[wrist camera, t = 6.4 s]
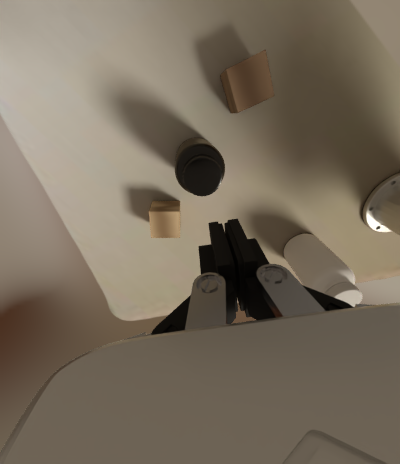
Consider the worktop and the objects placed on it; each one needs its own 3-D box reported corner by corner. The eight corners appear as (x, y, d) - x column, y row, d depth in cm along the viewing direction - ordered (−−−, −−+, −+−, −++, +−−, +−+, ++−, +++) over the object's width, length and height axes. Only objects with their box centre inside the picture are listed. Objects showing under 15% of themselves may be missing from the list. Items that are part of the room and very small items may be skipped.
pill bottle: (282, 265, 48) (318, 321, 35) (282, 236, 44) (324, 287, 31) (316, 259, 48) (366, 313, 35) (320, 229, 44) (378, 278, 31)
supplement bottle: (188, 185, 37) (190, 213, 27) (168, 150, 34) (161, 165, 24) (223, 167, 36) (239, 188, 26) (205, 128, 33) (215, 134, 22)
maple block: (180, 200, 39) (179, 211, 34) (180, 224, 41) (179, 237, 37) (152, 200, 38) (148, 211, 34) (154, 224, 41) (151, 237, 36)
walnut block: (253, 59, 29) (265, 49, 25) (261, 98, 31) (274, 96, 27) (219, 75, 30) (226, 69, 25) (230, 113, 32) (238, 112, 28)
